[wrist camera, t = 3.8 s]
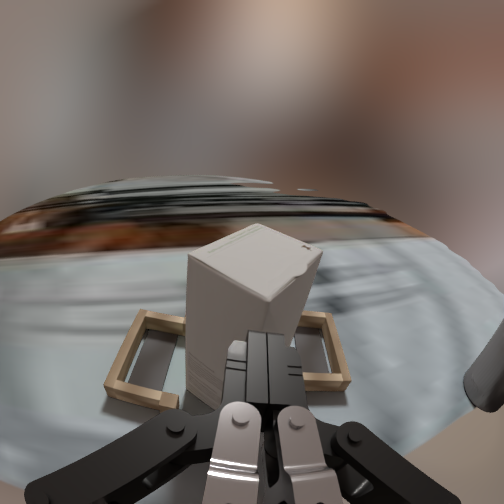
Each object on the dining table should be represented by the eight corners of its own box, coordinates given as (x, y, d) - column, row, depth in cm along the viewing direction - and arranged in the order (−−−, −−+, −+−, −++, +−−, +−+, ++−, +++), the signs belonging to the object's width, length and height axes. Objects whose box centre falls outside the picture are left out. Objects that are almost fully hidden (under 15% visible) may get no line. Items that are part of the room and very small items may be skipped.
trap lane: (318, 295, 43) (325, 273, 41) (353, 428, 22) (371, 408, 20) (165, 272, 41) (166, 249, 40) (106, 400, 21) (96, 376, 19)
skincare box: (233, 348, 30) (256, 219, 23) (282, 378, 27) (328, 249, 20) (182, 390, 24) (182, 248, 17) (235, 430, 21) (273, 297, 14)
